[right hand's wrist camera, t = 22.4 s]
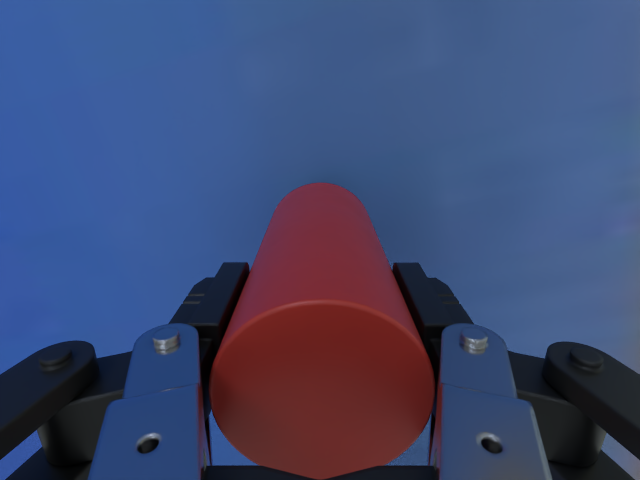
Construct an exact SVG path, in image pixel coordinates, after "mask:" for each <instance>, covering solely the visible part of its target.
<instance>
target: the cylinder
mask: <svg viewBox="0 0 640 480" xmlns="http://www.w3.org/2000/svg"><path fill="white" fill-rule="evenodd" d="M434 398H435V378H434V371H433V368H432V365H431V362H430V359H429V357H428V354H427V352H426V350H425V347H424V345H423V343H422V340H421V338H420V335H419V333H418V331H417V328H416V326H415V324H414V321H413V319H412V317H411V314H410V312H409V310H408V307H407V305H406V303H405V300H404V298H403V295H402V293H401V291H400V288H399V286H398V284H397V281H396V279H395V277H394V274H393V272H392V270H391V267H390V265H389V263H388V260H387V258H386V255H385V253H384V251H383V248H382V246H381V244H380V241H379V239H378V237H377V234H376V232H375V230H374V227H373V225H372V223H371V220H370V218H369V215H368V213H367V211H366V209H365V207H364V206H363V204H362V203H361V201H360V200H359V199H358V198H357V197H356V196H355V195H354V194H352V193H351V192H350V191H348V190H346V189H344V188H342V187H340V186H337V185H334V184H329V183H312V184H307V185H304V186H301V187H299V188H297V189H295V190H293V191H292V192H290V193H289V194H287V195H286V196H285V197H284V198H283V199H282V200H281V202H280V203H279V204H278V206H277V208H276V209H275V211H274V214H273V216H272V219H271V221H270V224H269V226H268V228H267V231H266V233H265V236H264V238H263V241H262V243H261V246H260V248H259V251H258V253H257V256H256V258H255V261H254V263H253V266H252V268H251V271H250V273H249V276H248V278H247V280H246V283H245V285H244V288H243V290H242V293H241V295H240V298H239V300H238V303H237V305H236V308H235V310H234V313H233V315H232V318H231V320H230V323H229V325H228V328H227V330H226V333H225V335H224V337H223V340H222V342H221V345H220V347H219V350H218V352H217V355H216V357H215V360H214V362H213V365H212V369H211V373H210V377H209V400H210V405H211V409H212V413H213V416H214V418H215V420H216V423H217V425H218V427H219V428H220V430H221V432H222V433H223V435H224V436H225V437H226V439H227V440H228V441H229V442H230V443H231V445H233V446H234V447H235V448H236V449H237V450H238V451H239V452H240V453H241V454H243V455H244V456H245V457H247V458H248V459H249V460H251V461H253V462H254V463H256V464H258V465H260V466H266V467H270V468H274V469H277V470H281V471H285V472H289V473H293V474H297V475H301V476H305V477H309V478H313V479H327V478H331V477H335V476H339V475H343V474H347V473H351V472H355V471H359V470H363V469H366V468H370V467H374V466H384V465H386V464H388V463H389V462H391V461H392V460H394V459H395V458H397V457H398V456H400V455H401V454H402V453H403V452H405V451H406V450H407V449H408V448H409V447H410V446H411V445H412V444H413V443H414V442H415V441H416V440H417V438H418V437H419V435H420V434H421V433H422V431H423V430H424V428H425V426H426V424H427V422H428V420H429V418H430V415H431V412H432V409H433V404H434Z"/></svg>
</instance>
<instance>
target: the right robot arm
mask: <svg viewBox="0 0 640 480" xmlns="http://www.w3.org/2000/svg"><path fill="white" fill-rule="evenodd" d="M392 272H393V274H394V277H395V279H396V281H397V284H398V286H399V288H400V291H401V293H402V295H403V298H404V300H405V303H406V305H407V307H408V310H409V312H410V314H411V317H412V319H413V321H414V324H415V326H416V328H417V331H418V333H419V335H420V338H421V340H422V343H423V345H424V347H425V350H426V352H427V354H428V357H429V359H430V362H431V365H432V368H433V371H434V378H435V398H434V404H433V409H432V412H431V418H430V427H429V442H428V457H427V466H374V467H370V468H366V469H363V470H359V471H355V472H351V473H347V474H343V475H339V476H335V477H331V478H327V479H313V478H309V477H305V476H301V475H297V474H293V473H289V472H285V471H281V470H277V469H274V468H270V467H266V466H213V457H212V442H211V427H210V419H209V414H210V412H211V405H210V400H209V377H210V373H211V369H212V365H213V362H214V360H215V357H216V355H217V352H218V350H219V347H220V345H221V342H222V340H223V337H224V335H225V333H226V330H227V328H228V325H229V323H230V320H231V318H232V315H233V313H234V310H235V308H236V305H237V303H238V300H239V298H240V295H241V293H242V290H243V288H244V285H245V283H246V280H247V278H248V276H249V273H250V271H249V265H248V263H247V262H224V263H223V264H222V266H221V268H220V269H219V271H218V273H217V274H216V276H215V278H205V279H203V280H202V281H200V282H199V283H197V284H196V285H194V287H193V288H192V290H191V291H190V293H189V294H188V296H187V297H186V298H185V300H184V301H183V304H181V306H180V307H179V309H178V310H177V312H176V313H175V315H174V316H173V318H172V319H171V321H170V322H169V324H166V325H162V326H158V327H155V328H153V329H151V330H149V331H147V332H145V333H144V334H142V335H141V336H140V337H139V338H138V339H137V340H136V342H135V344H134V347H133V351H131V352H127V353H122V354H117V355H112V356H107V357H102V358H97V357H96V353H95V349H94V347H93V345H92V344H90V343H88V342H85V341H67V342H62V343H58V344H54V345H51V346H48V347H46V348H43V349H41V350H39V351H37V352H36V353H34V354H32V355H30V356H29V357H27V358H26V359H24V360H23V361H21V362H19V363H18V364H16V365H15V366H13V367H12V368H10V369H8V370H7V371H5V372H4V373H2V374H1V375H0V460H1V459H2V458H3V457H4V456H6V455H7V454H8V453H9V452H10V451H12V450H13V449H14V448H15V447H16V446H18V445H19V444H20V443H21V442H22V441H24V440H25V439H26V438H27V437H28V436H30V435H31V434H32V433H33V432H34V431H36V430H37V432H38V435H39V438H40V441H41V444H42V447H41V448H40V449H39V450H38V451H37V452H36V453H35V454H34V455H32V456H31V457H30V458H29V459H28V460H27V461H26V462H25V463H23V464H22V465H21V466H20V467H19V468H18V469H17V470H16V471H14V472H13V473H12V474H11V475H10V476H9V477H8V478H7V479H5V480H635V479H633V478H632V477H631V476H630V475H629V474H628V473H627V472H626V471H624V470H623V469H622V468H621V467H620V466H619V465H618V464H617V463H615V462H614V461H613V460H612V459H611V458H610V457H609V456H608V455H606V454H605V453H604V452H603V451H602V450H601V447H602V444H603V441H604V438H605V435H606V433H608V434H609V435H610V436H612V437H613V438H614V439H615V440H616V441H618V442H619V443H620V444H621V445H622V446H624V447H625V448H626V449H627V450H628V451H630V452H631V453H632V454H633V455H634V456H636V457H637V458H638V459H639V460H640V375H639V374H638V373H636V372H635V371H633V370H632V369H630V368H628V367H627V366H625V365H624V364H622V363H621V362H619V361H617V360H616V359H614V358H613V357H611V356H609V355H608V354H606V353H604V352H602V351H600V350H598V349H596V348H593V347H590V346H587V345H584V344H580V343H575V342H556V343H553V344H551V345H550V346H549V347H548V349H547V352H546V356H545V359H544V358H539V357H534V356H529V355H523V354H519V353H514V352H511V351H508V350H507V347H506V344H505V342H504V340H503V339H502V338H501V337H500V336H499V335H498V334H496V333H495V332H493V331H491V330H489V329H487V328H484V327H482V326H478V325H474V323H473V322H472V320H471V319H470V317H469V316H468V314H467V313H466V312H465V310H464V309H463V307H462V306H461V304H459V301H458V300H457V298H456V297H455V296H454V294H453V293H452V291H451V290H450V288H449V287H448V285H446V284H445V283H443V282H441V281H440V280H438V279H437V278H427V276H426V274H425V273H424V271H423V269H422V268H421V266H420V264H419V263H394V265H393V270H392Z"/></svg>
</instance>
